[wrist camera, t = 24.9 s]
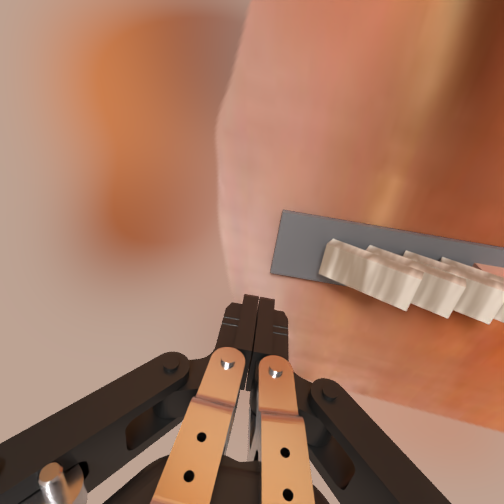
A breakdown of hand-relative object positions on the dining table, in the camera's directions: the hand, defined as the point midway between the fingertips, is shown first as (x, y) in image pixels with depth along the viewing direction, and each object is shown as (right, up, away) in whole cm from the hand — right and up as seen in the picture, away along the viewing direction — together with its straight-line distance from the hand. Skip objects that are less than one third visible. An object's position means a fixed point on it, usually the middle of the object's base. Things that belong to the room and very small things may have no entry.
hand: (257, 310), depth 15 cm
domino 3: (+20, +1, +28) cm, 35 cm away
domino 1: (+10, +2, +28) cm, 30 cm away
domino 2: (+15, +1, +28) cm, 32 cm away
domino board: (+19, +2, +30) cm, 36 cm away
